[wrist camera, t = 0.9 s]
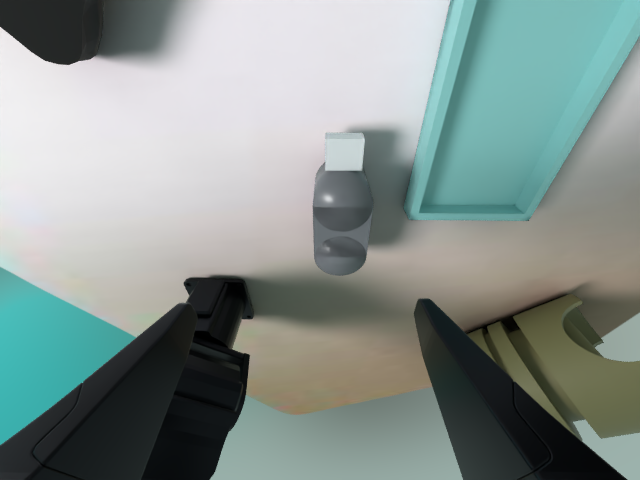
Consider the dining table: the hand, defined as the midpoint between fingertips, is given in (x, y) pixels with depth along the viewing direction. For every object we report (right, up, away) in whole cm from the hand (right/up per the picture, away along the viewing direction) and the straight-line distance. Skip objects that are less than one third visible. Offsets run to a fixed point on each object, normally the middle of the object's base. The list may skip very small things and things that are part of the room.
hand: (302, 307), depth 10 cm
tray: (+12, +11, +6) cm, 18 cm away
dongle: (+2, +6, +11) cm, 13 cm away
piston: (+24, -7, +20) cm, 33 cm away
